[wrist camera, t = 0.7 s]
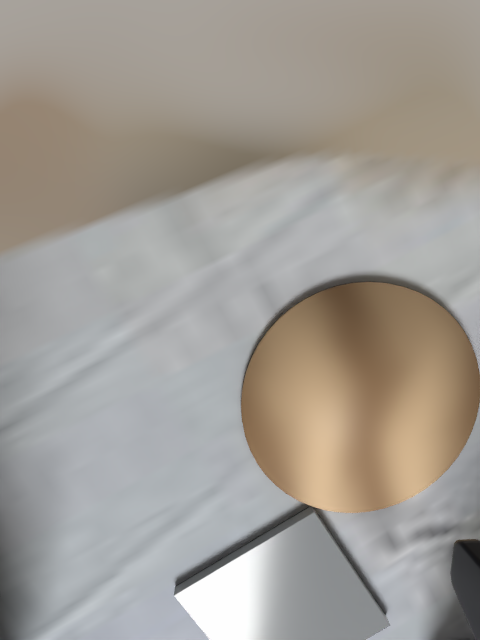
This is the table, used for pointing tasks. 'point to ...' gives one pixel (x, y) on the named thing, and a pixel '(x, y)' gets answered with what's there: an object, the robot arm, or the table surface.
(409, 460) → the cork trivet
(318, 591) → the stone coaster
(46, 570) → the table surface
